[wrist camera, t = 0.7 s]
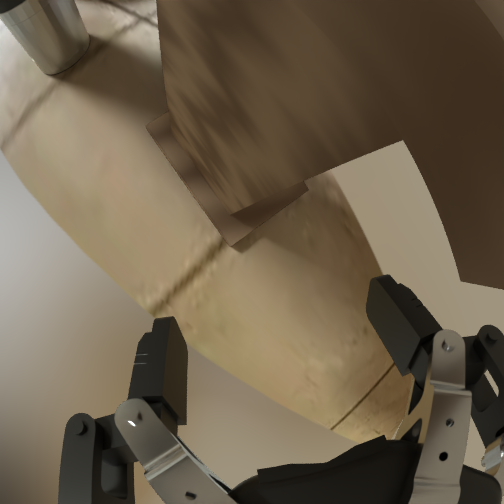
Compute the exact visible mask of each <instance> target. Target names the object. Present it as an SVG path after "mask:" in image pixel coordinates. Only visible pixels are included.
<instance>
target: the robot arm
mask: <svg viewBox="0 0 504 504" xmlns="http://www.w3.org/2000/svg"><path fill="white" fill-rule="evenodd" d="M0 19H1V20H2V21H3V23H4V24H5V25H6V27H7V28H8V29H9V30H10V32H11V33H12V34H13V36H14V37H15V38H16V39H17V41H18V42H19V43H20V45H21V46H22V47H23V48H24V50H25V51H26V52H27V53H28V54H29V56H30V57H31V58H32V60H33V61H34V62H35V63H36V64H37V66H38V67H39V68H40V69H41V70H42V72H43V73H45V74H56V73H59V72H62V71H64V70H66V69H68V68H69V67H71V66H72V65H73V64H75V63H76V62H77V61H78V60H79V59H80V58H81V57H82V56H83V55H84V53H85V52H86V50H87V49H88V46H89V44H90V38H89V35H88V33H87V30H86V28H85V25H84V23H83V20H82V18H81V16H80V13H79V11H78V8H77V6H76V3H75V1H74V0H0ZM366 312H367V316H368V319H369V320H370V322H371V324H372V325H373V327H374V329H375V330H376V332H377V334H378V335H379V337H380V339H381V340H382V342H383V344H384V345H385V347H386V349H387V350H388V352H389V354H390V356H391V357H392V359H393V361H394V363H395V364H396V366H397V368H398V370H399V371H400V373H401V375H402V376H404V375H407V374H409V373H412V374H413V376H414V377H413V379H412V383H411V388H410V393H409V398H408V402H407V407H406V411H405V415H404V418H403V421H402V423H401V425H400V427H399V429H398V432H397V434H396V437H395V440H386V438H385V435H382V436H380V437H377V438H375V439H372V440H370V441H367V442H364V443H362V444H359V445H356V446H354V447H353V448H351V449H350V450H348V451H346V452H344V453H343V454H341V455H339V456H338V457H336V458H334V459H332V460H330V461H329V462H326V463H316V464H315V463H314V464H287V465H281V466H277V467H271V468H264V469H258V470H257V472H258V475H256V476H253V477H251V478H249V479H247V480H245V481H243V482H242V483H240V484H238V485H237V486H236V487H235V488H233V489H231V488H230V487H229V486H227V484H226V483H224V482H223V481H222V480H221V479H220V478H219V477H218V476H217V475H216V474H214V473H213V472H212V471H211V470H210V469H209V468H207V466H206V465H205V464H204V463H203V462H202V461H201V460H200V459H199V458H198V457H197V456H196V455H195V454H194V453H193V452H192V451H191V450H190V449H189V448H188V446H187V445H186V444H185V443H184V442H183V441H182V439H181V438H180V437H179V436H178V435H177V430H178V429H177V428H178V425H187V424H186V422H187V416H186V415H187V414H186V413H187V410H186V409H187V365H188V351H187V345H186V342H185V340H184V337H183V335H182V333H181V331H180V328H179V326H178V324H177V321H176V319H175V318H174V317H173V316H171V317H163V318H156V319H155V320H154V323H153V328H152V332H149V333H145V334H144V335H143V337H142V339H141V340H140V341H139V343H138V347H137V352H136V357H135V361H134V363H135V365H134V367H133V372H132V378H131V383H130V388H129V394H128V399H127V400H126V401H124V402H123V403H122V404H120V405H119V407H118V408H117V410H116V412H115V413H114V414H111V415H108V416H105V417H101V418H97V419H93V418H92V417H91V416H89V415H88V414H85V413H78V414H75V415H74V416H72V417H71V418H70V419H69V421H68V422H67V424H66V429H65V434H64V441H63V449H62V456H61V467H60V477H59V495H58V504H135V496H134V462H137V461H139V462H140V463H141V465H142V466H143V468H144V469H145V473H144V475H145V478H146V479H147V481H148V482H149V484H150V485H151V486H152V488H153V489H154V490H155V491H156V493H157V494H158V495H159V496H160V498H161V499H162V500H163V501H164V502H165V504H501V501H502V496H504V335H503V333H502V332H501V331H500V330H499V329H498V328H496V327H495V326H492V325H484V326H483V327H481V329H480V330H479V332H478V334H477V335H476V336H469V337H461V336H460V335H459V334H458V333H457V332H455V331H452V330H443V329H442V327H441V326H440V325H439V324H438V322H437V321H436V320H435V318H434V317H433V316H432V315H431V313H430V312H429V311H428V310H427V309H426V307H425V306H423V304H422V302H421V301H420V300H419V299H417V296H416V295H415V294H414V293H413V292H412V291H411V289H409V288H407V287H406V286H404V285H403V284H401V283H400V284H397V283H396V282H395V280H394V279H393V278H392V277H391V276H390V275H383V276H379V277H375V278H372V279H371V281H370V286H369V292H368V298H367V303H366ZM487 369H488V371H489V373H490V374H491V376H492V378H493V379H494V381H495V383H496V385H497V386H498V389H499V394H498V397H497V395H496V394H495V392H494V390H493V388H492V387H491V385H490V383H489V381H488V380H487V378H486V376H485V374H484V373H485V372H486V371H487ZM470 415H471V417H472V419H473V421H474V423H475V425H476V427H477V429H478V432H479V434H480V436H481V439H482V441H483V444H484V446H485V448H486V451H485V455H484V456H483V458H482V460H481V464H482V466H483V467H486V469H485V472H482V471H479V470H477V469H474V468H471V467H468V466H466V465H464V464H463V461H464V456H465V451H466V446H467V439H468V432H469V424H470Z"/></svg>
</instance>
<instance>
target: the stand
mask: <svg viewBox="0 0 504 504" xmlns="http://www.w3.org/2000/svg"><path fill="white" fill-rule="evenodd" d="M156 3H157V18H158V30H159V40H160V50H161V59H162V68H163V76H164V83H165V91H166V98H167V105H168V112H166V113H164V114H163V115H161V116H160V117H158V118H156V119H155V120H153V121H152V122H150V123H149V124H147V125H146V128H147V130H148V132H149V133H150V135H151V136H152V138H153V139H154V140H155V142H156V143H157V145H158V146H159V148H160V149H161V151H162V152H163V153H164V155H165V156H166V158H167V159H168V161H169V162H170V163H171V165H172V166H173V168H174V169H175V171H176V172H177V173H178V175H179V176H180V178H181V179H182V181H183V182H184V183H185V185H186V186H187V188H188V189H189V191H190V192H191V193H192V195H193V196H194V198H195V199H196V200H197V202H198V203H199V205H200V206H201V207H202V209H203V210H204V212H205V213H206V214H207V216H208V217H209V219H210V220H211V221H212V223H213V224H214V226H215V227H216V228H217V230H218V231H219V233H220V234H221V235H222V237H223V238H224V240H225V241H226V242H227V244H228V245H229V246H232V245H234V244H235V243H236V242H238V241H239V240H241V239H242V238H243V237H245V236H246V235H247V234H249V233H250V232H251V231H253V230H254V229H256V228H257V227H258V226H260V225H261V224H262V223H264V222H265V221H266V220H268V219H269V218H271V217H272V216H273V215H275V214H276V213H277V212H279V211H280V210H282V209H283V208H284V207H286V206H287V205H288V204H290V203H291V202H293V201H294V200H295V199H297V198H298V197H300V196H301V195H302V194H304V193H305V192H307V191H308V190H309V189H308V187H307V186H306V184H305V183H304V180H307V179H309V178H311V177H314V176H316V175H318V174H321V173H323V172H325V171H327V170H330V169H332V168H335V167H337V166H339V165H341V164H344V163H346V162H349V161H351V160H353V159H356V158H358V157H361V156H363V155H366V154H368V153H371V152H373V151H376V150H378V149H381V148H383V147H386V146H388V145H391V144H394V143H396V142H399V141H402V140H403V141H404V142H405V144H406V146H407V148H408V150H409V151H410V153H411V155H412V157H413V159H414V161H415V163H416V165H417V167H418V169H419V171H420V173H421V175H422V177H423V179H424V181H425V183H426V185H427V187H428V190H429V192H430V194H431V196H432V199H433V201H434V204H435V206H436V208H437V211H438V213H439V216H440V218H441V221H442V224H443V226H444V229H445V232H446V235H447V237H448V240H449V243H450V246H451V249H452V253H453V256H454V259H455V262H456V266H457V269H458V273H459V277H460V280H461V281H462V282H467V283H472V284H477V285H483V286H488V287H493V288H498V289H503V290H504V0H156Z"/></svg>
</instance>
